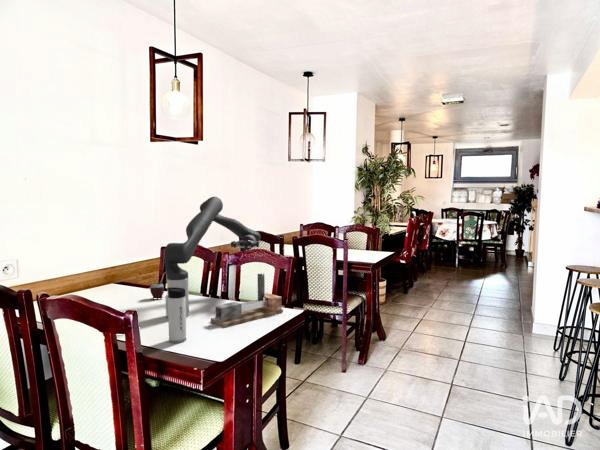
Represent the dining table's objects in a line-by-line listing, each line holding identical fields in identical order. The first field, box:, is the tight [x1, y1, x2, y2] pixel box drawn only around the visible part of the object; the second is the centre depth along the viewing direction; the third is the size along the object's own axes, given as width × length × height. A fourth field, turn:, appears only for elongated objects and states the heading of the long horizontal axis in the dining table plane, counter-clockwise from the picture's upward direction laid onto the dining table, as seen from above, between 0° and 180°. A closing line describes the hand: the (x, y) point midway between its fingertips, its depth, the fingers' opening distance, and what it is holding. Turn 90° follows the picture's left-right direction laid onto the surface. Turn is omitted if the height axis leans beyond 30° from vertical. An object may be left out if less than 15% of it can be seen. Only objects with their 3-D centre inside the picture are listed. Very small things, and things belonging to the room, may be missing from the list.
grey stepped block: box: [240, 273, 268, 312], centre depth 182 cm, size 22×3×15 cm, turn 134°
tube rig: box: [210, 292, 284, 328], centre depth 181 cm, size 32×11×8 cm, turn 134°
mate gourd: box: [149, 271, 166, 299], centre depth 216 cm, size 8×8×15 cm
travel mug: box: [166, 287, 187, 344], centre depth 150 cm, size 6×7×20 cm
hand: (243, 245), depth 201 cm, fingers open, 8 cm apart
